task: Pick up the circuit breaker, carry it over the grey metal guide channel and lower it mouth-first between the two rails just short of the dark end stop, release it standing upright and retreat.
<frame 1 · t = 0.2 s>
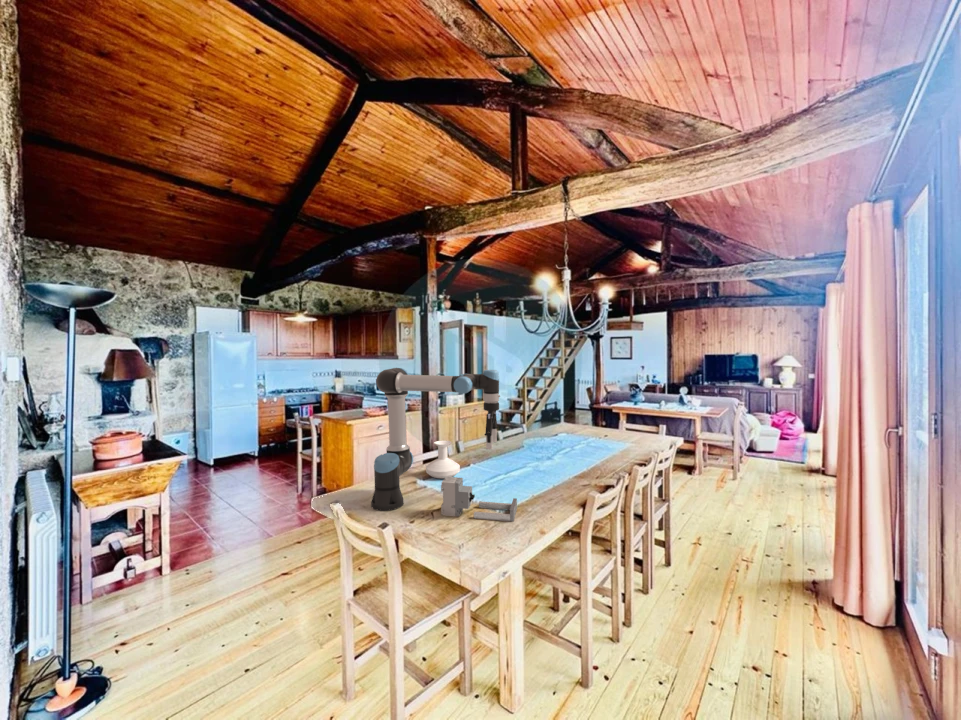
hand: (491, 445, 197), 27 cm above the table, fingers open, 13 cm apart
circuit breaker: (458, 513, 185), on the table
channel: (494, 513, 184), on the table
white vase: (443, 475, 238), on the table
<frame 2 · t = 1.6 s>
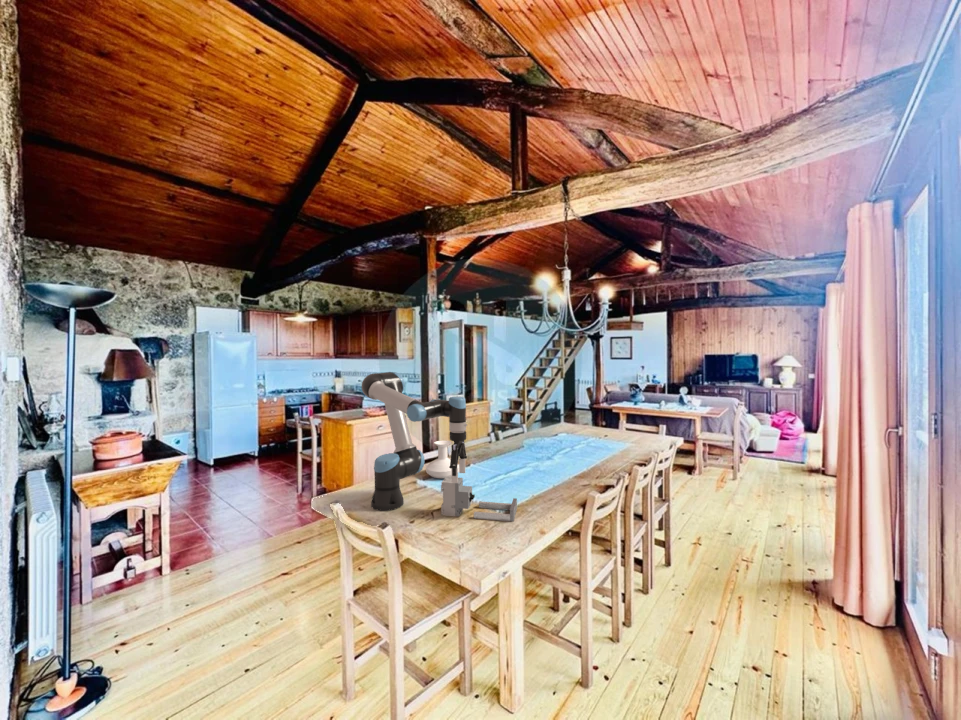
hand: (458, 477, 184), 16 cm above the table, fingers open, 13 cm apart
nothing on the table moved.
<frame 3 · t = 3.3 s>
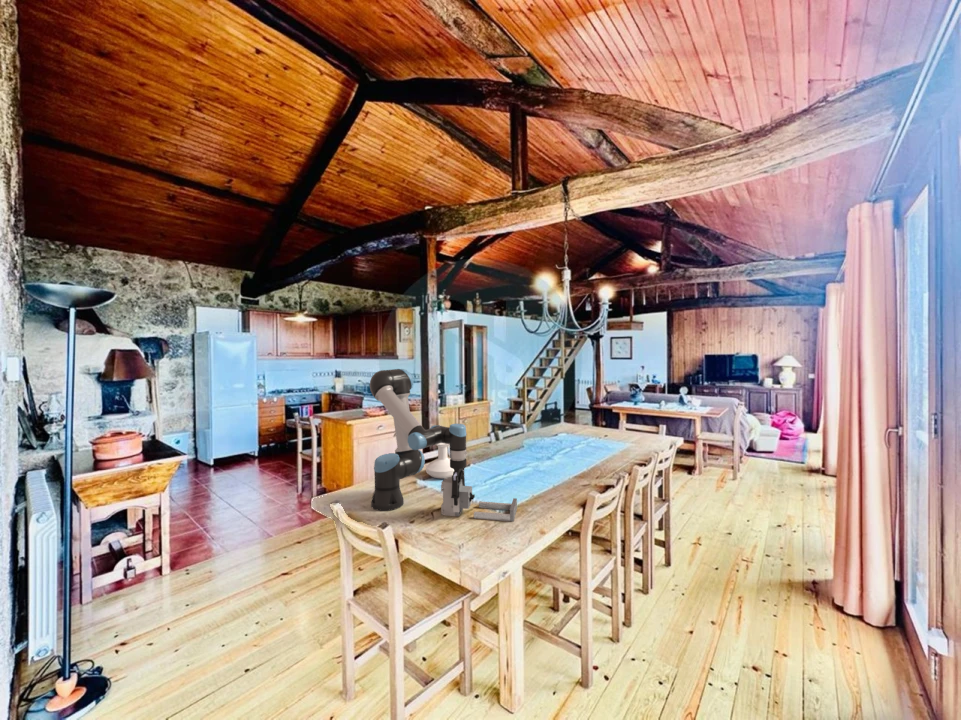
hand: (458, 508, 185), 2 cm above the table, fingers closed on circuit breaker, 7 cm apart
circuit breaker: (458, 513, 185), on the table, touching gripper
everything else where it was.
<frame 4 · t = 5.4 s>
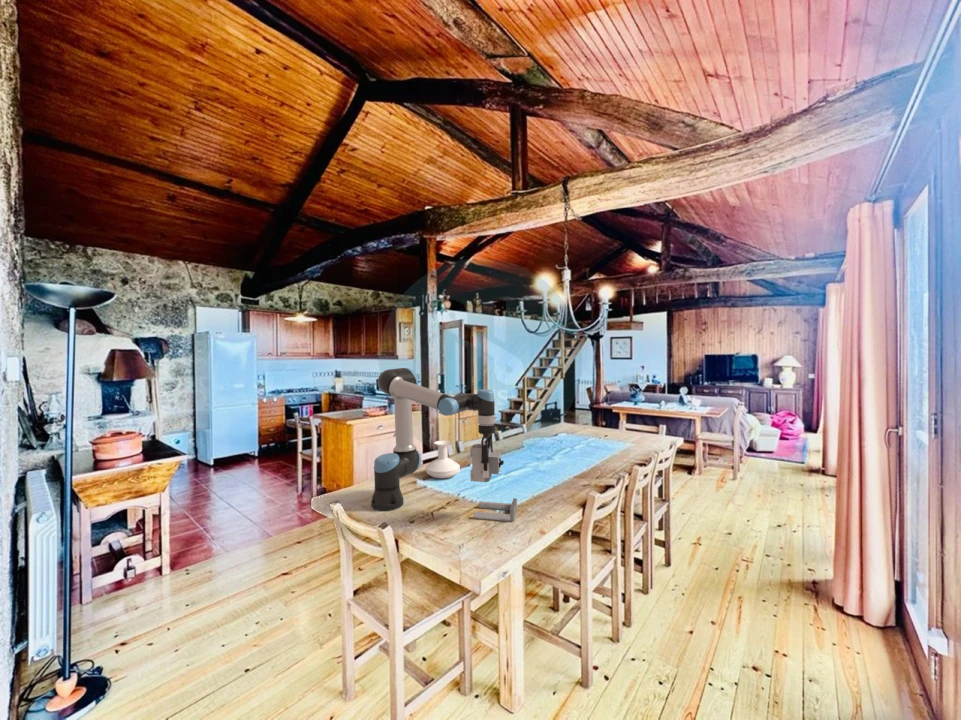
hand: (487, 474, 183), 18 cm above the table, fingers closed on circuit breaker, 7 cm apart
circuit breaker: (487, 479, 183), point 16 cm above the table, touching gripper
everything else where it was.
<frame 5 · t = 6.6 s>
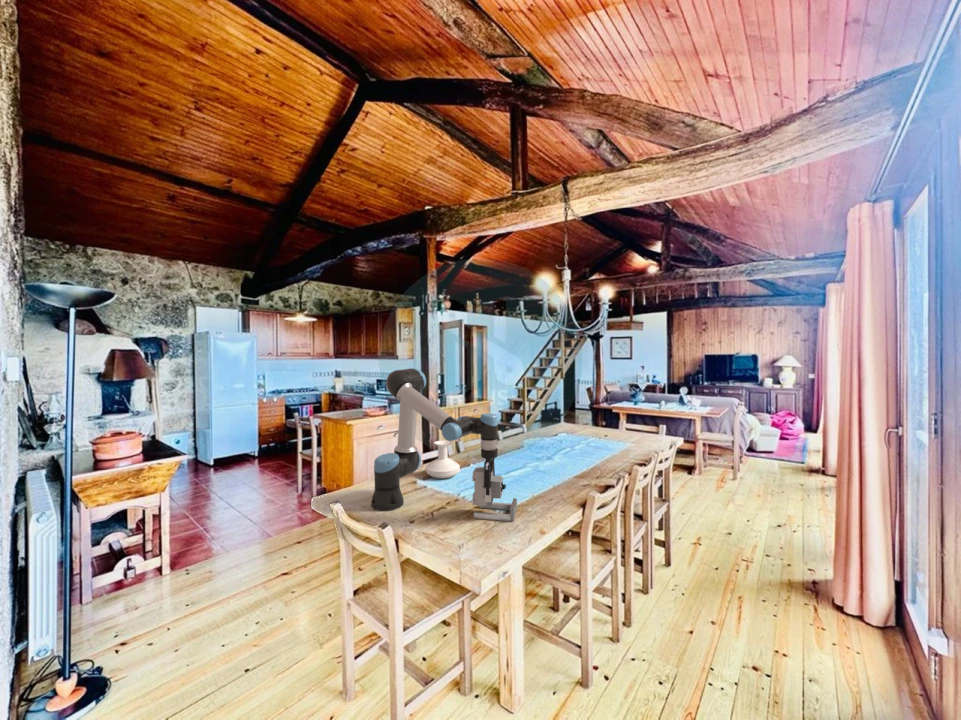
hand: (489, 498, 184), 7 cm above the table, fingers closed on circuit breaker, 7 cm apart
circuit breaker: (489, 503, 184), point 5 cm above the table, touching gripper
everything else where it was.
when the fingers open (4 cm above the table, at t = 7.5 s): circuit breaker drops 2 cm, on the table.
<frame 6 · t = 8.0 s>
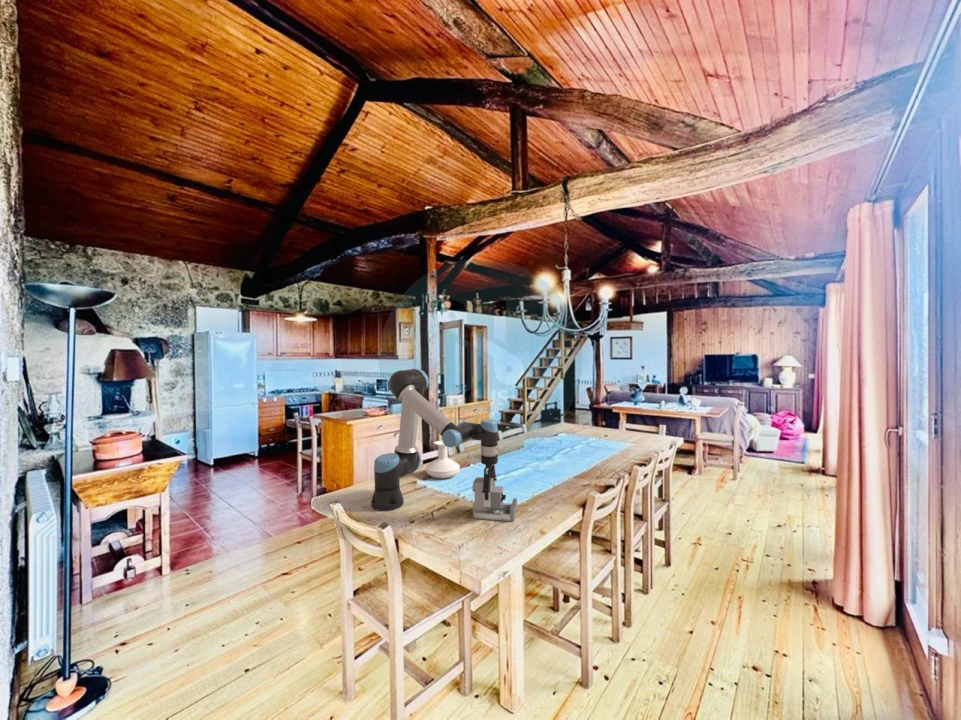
hand: (489, 500, 184), 6 cm above the table, fingers open, 13 cm apart
circuit breaker: (489, 513, 185), on the table
everything else where it was.
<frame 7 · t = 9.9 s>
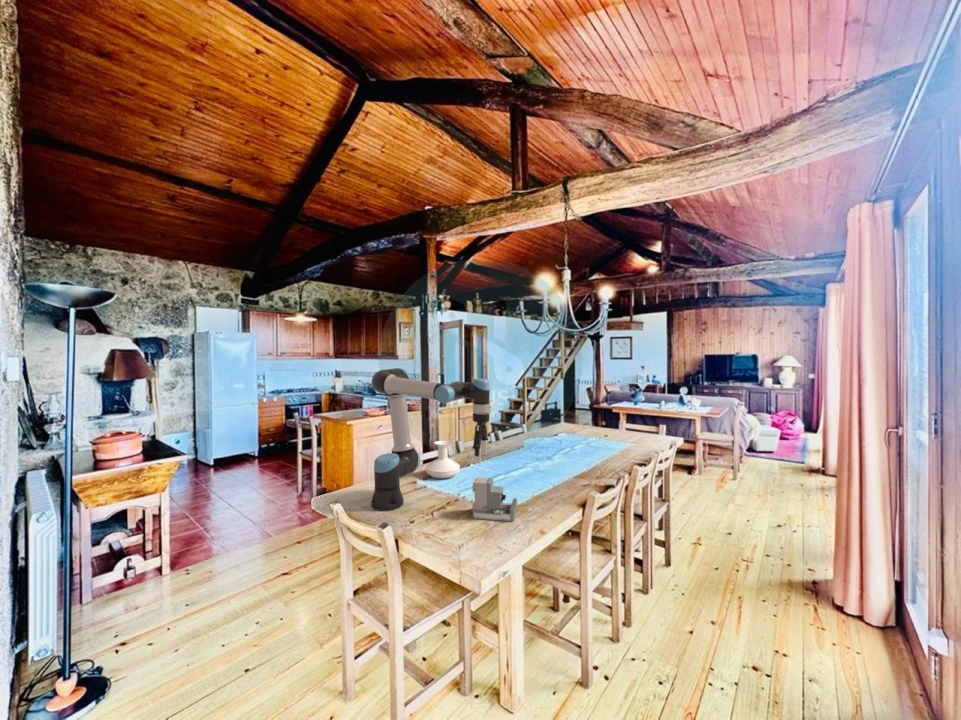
hand: (480, 458, 187), 24 cm above the table, fingers open, 13 cm apart
nothing on the table moved.
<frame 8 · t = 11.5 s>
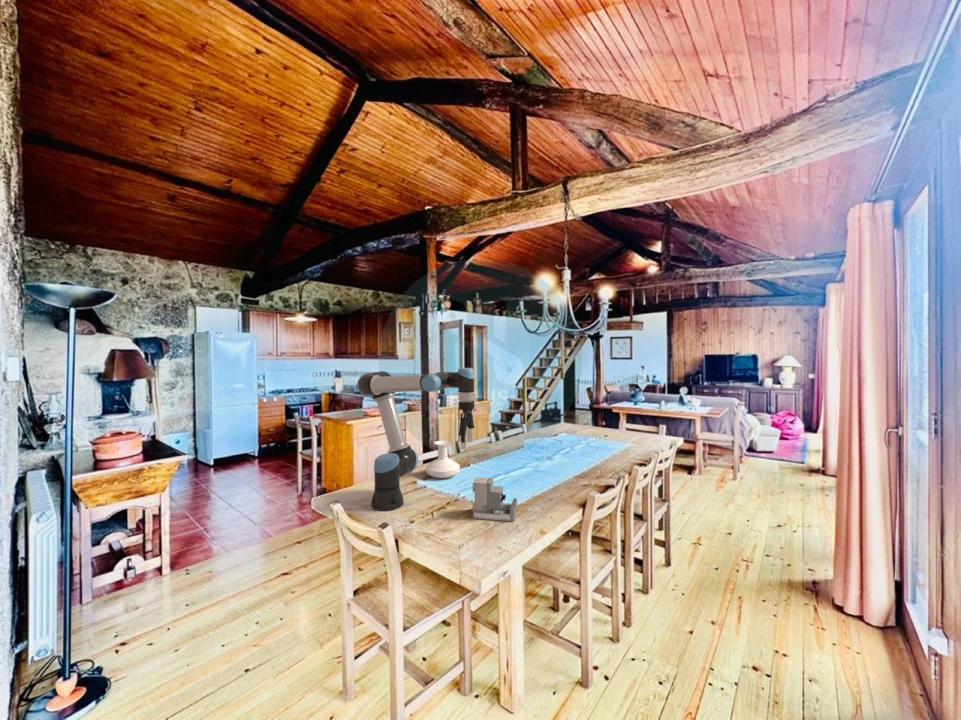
hand: (466, 445, 192), 29 cm above the table, fingers open, 13 cm apart
nothing on the table moved.
at the end: circuit breaker inside the target area on the channel (1.0 cm from its centre), point 0.0 cm above the channel's base; circuit breaker tilted 0°; the gripper is holding nothing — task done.
